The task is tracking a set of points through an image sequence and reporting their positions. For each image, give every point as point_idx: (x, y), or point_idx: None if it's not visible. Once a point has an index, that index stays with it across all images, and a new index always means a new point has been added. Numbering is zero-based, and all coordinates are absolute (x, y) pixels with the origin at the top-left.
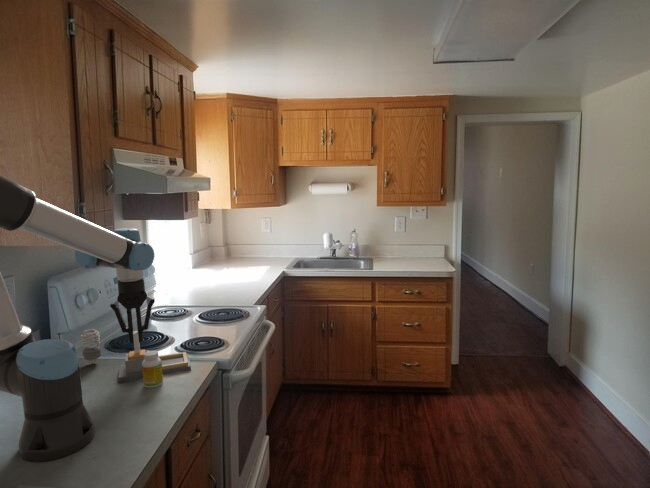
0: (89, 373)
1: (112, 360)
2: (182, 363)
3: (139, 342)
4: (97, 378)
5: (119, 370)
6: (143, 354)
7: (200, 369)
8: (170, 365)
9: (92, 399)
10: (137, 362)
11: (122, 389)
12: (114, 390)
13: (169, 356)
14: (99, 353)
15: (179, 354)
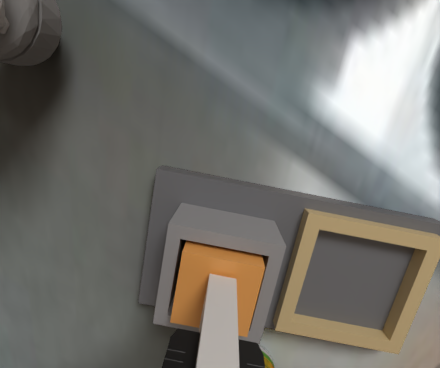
0: (43, 144)
1: (134, 39)
2: (376, 349)
3: (237, 312)
4: (75, 214)
5: (147, 240)
6: (240, 334)
7: (415, 347)
8: (329, 339)
9: (67, 359)
10: None
11: (151, 346)
12: (128, 339)
13: (363, 236)
14: (44, 43)
15: (409, 245)
